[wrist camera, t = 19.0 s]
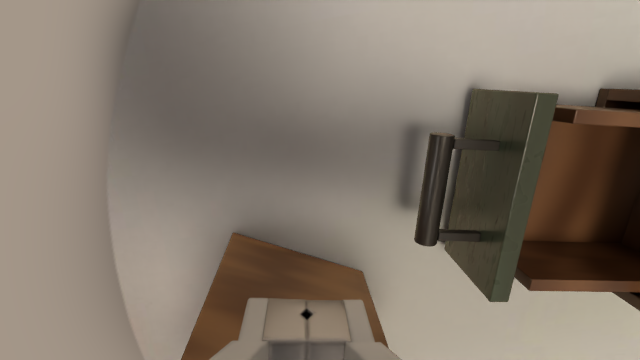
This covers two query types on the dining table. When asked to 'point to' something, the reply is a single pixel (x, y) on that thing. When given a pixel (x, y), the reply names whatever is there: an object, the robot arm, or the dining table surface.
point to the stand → (269, 290)
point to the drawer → (538, 195)
